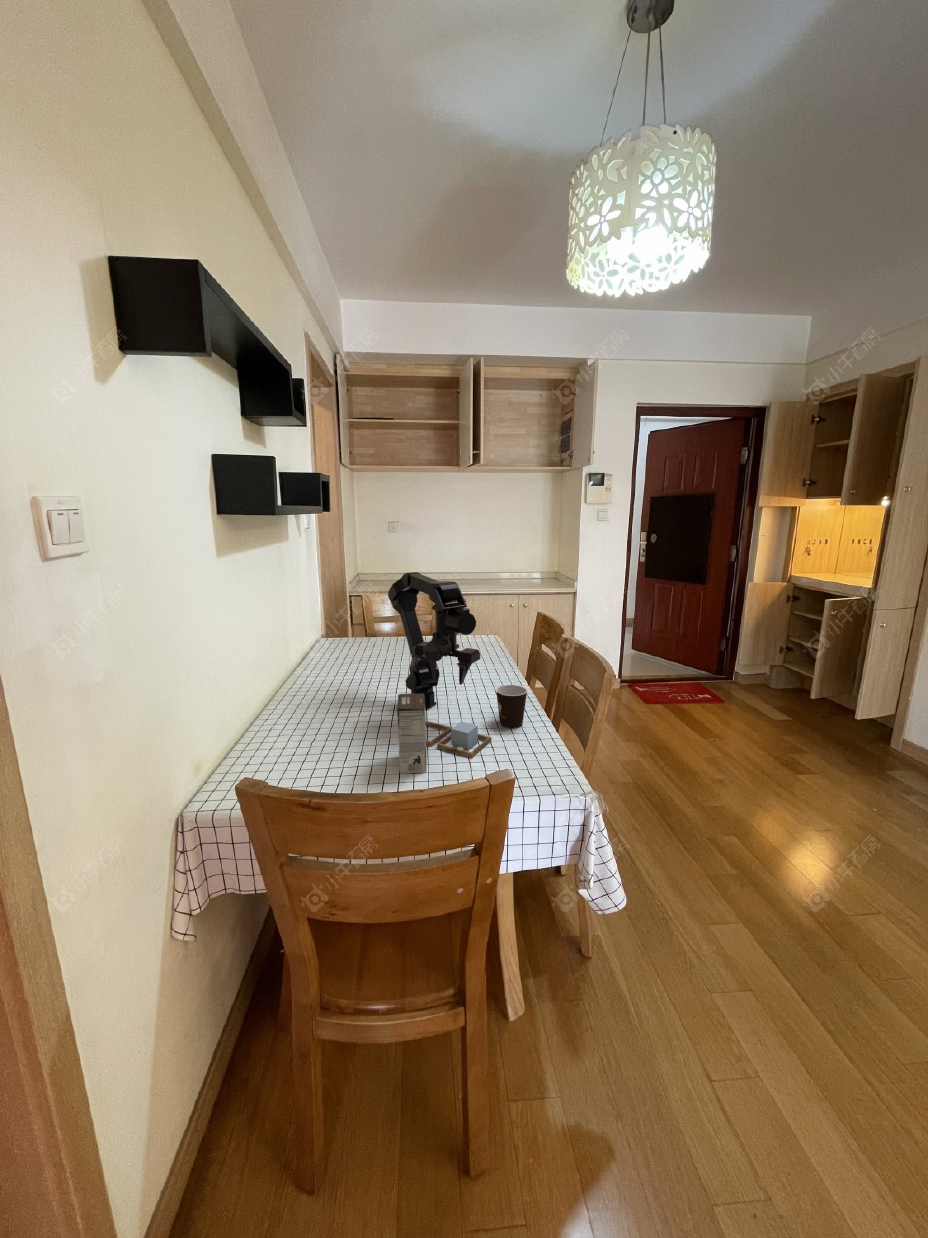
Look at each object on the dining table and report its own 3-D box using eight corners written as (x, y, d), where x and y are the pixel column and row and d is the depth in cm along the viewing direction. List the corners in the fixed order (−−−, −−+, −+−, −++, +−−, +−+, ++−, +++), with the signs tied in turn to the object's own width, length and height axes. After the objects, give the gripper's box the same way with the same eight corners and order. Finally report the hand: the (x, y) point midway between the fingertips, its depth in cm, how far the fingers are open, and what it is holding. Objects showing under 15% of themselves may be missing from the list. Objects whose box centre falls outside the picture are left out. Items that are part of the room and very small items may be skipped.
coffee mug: (525, 731, 132) (525, 696, 129) (493, 728, 133) (494, 694, 131) (528, 714, 143) (529, 682, 141) (499, 712, 144) (499, 680, 142)
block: (451, 746, 123) (451, 728, 122) (461, 739, 128) (461, 721, 126) (468, 751, 121) (467, 733, 120) (477, 743, 125) (477, 725, 124)
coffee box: (400, 755, 119) (398, 693, 116) (426, 753, 120) (424, 692, 116) (398, 774, 110) (396, 708, 107) (427, 772, 111) (425, 707, 107)
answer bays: (398, 738, 128) (398, 733, 128) (421, 723, 137) (421, 718, 137) (471, 759, 117) (471, 753, 117) (491, 741, 126) (491, 736, 126)
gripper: (400, 630, 130) (402, 684, 133) (460, 638, 121) (460, 697, 124) (424, 622, 140) (425, 673, 143) (481, 629, 130) (481, 683, 134)
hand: (446, 681), depth 136 cm, fingers open, 9 cm apart
